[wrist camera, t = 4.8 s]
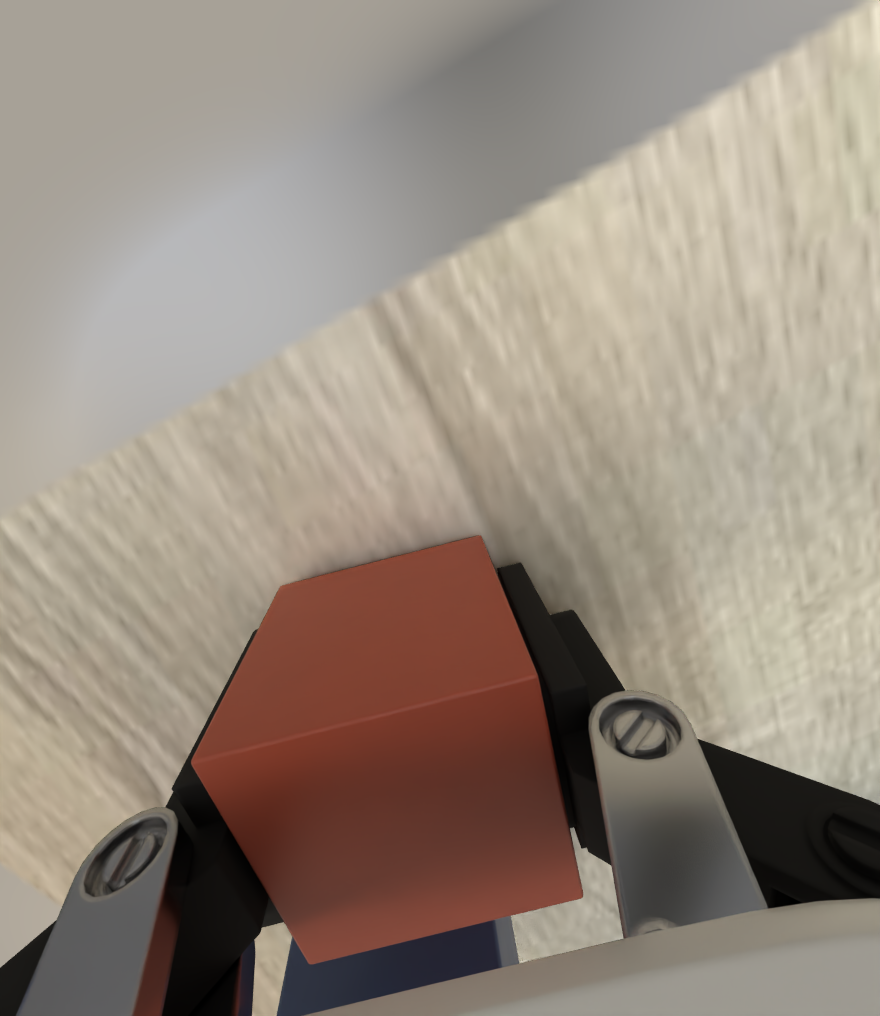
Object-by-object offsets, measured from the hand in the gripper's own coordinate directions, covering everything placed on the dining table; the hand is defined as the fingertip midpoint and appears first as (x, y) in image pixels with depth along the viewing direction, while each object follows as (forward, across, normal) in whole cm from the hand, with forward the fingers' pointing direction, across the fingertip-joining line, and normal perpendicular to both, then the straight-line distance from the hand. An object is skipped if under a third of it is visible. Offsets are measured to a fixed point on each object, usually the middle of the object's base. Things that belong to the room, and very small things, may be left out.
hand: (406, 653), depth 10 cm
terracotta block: (0, 0, 0) cm, 0 cm away
